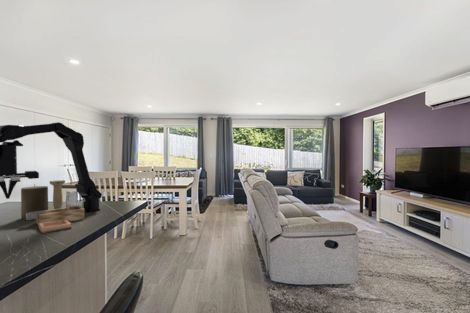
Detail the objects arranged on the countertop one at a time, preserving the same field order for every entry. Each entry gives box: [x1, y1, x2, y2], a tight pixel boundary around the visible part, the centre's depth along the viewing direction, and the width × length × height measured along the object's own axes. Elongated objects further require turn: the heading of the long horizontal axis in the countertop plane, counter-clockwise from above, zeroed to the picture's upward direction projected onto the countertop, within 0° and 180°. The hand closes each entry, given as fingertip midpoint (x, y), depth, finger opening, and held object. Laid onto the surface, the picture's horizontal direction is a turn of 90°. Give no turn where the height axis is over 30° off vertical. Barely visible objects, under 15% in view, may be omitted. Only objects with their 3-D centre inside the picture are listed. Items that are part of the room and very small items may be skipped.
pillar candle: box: [20, 184, 49, 221], centre depth 115 cm, size 10×10×15 cm
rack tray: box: [38, 219, 72, 234], centre depth 99 cm, size 9×9×2 cm
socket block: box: [35, 205, 85, 226], centre depth 109 cm, size 16×8×4 cm, turn 135°
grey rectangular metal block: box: [26, 210, 46, 221], centre depth 103 cm, size 6×3×2 cm, turn 135°
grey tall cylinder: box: [65, 191, 78, 211], centre depth 112 cm, size 4×4×9 cm
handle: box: [49, 179, 66, 209], centre depth 127 cm, size 5×6×15 cm
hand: (7, 198), depth 97 cm, fingers closed
